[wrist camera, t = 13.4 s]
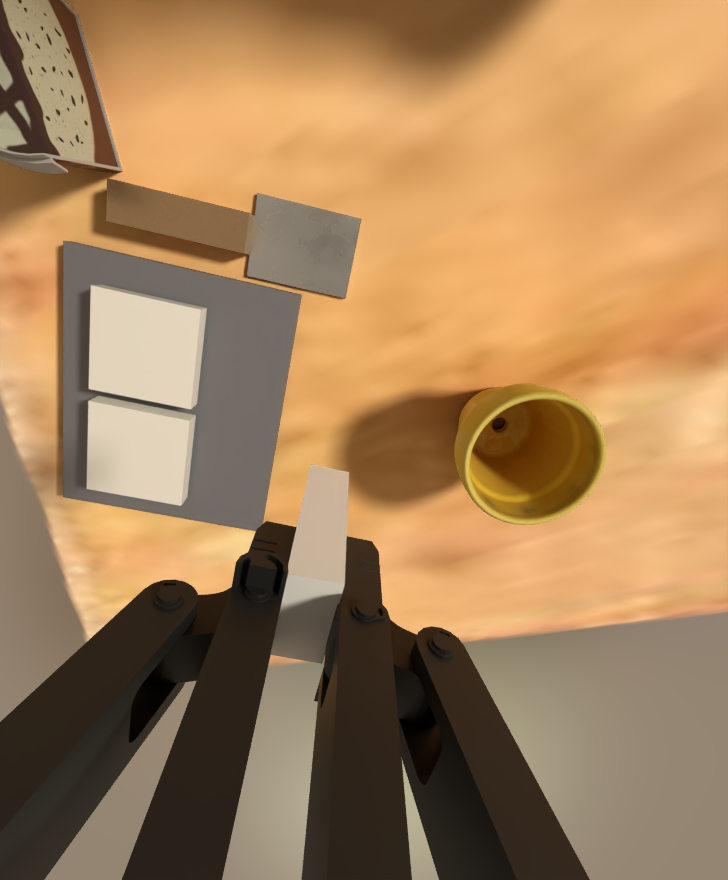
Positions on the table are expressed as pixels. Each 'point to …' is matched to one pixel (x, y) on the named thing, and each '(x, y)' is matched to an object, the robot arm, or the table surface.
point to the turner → (250, 233)
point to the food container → (50, 92)
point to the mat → (220, 385)
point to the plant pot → (528, 453)
